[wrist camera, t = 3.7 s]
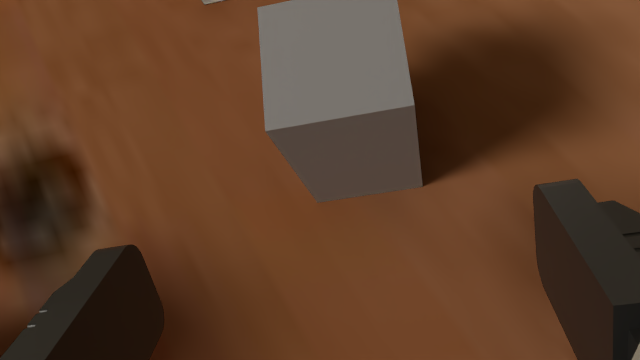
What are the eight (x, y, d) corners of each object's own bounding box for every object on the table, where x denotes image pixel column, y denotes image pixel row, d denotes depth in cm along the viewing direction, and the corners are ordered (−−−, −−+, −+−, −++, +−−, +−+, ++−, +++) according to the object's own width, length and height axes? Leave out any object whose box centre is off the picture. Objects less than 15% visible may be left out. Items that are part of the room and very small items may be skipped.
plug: (403, 67, 25) (388, -52, 18) (422, 186, 23) (414, 105, 16) (306, 85, 25) (255, -23, 18) (317, 202, 23) (265, 131, 16)
